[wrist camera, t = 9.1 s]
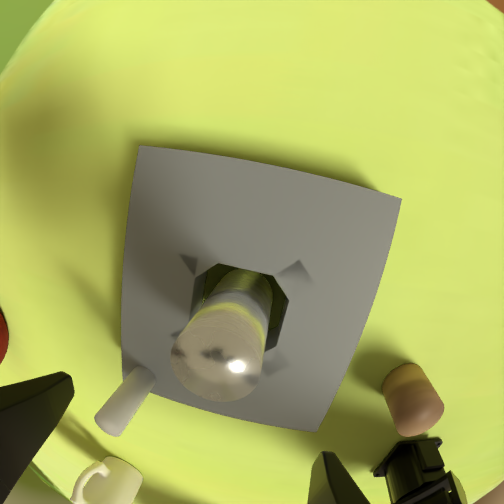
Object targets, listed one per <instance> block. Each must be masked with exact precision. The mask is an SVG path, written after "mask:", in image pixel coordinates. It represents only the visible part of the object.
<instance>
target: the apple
mask: <svg viewBox="0 0 504 504" xmlns="http://www.w3.org/2000/svg"><path fill="white" fill-rule="evenodd" d="M8 340H9V335H8V330H7V326H6V323H5V321H4V318H3V316H2V314H1V313H0V364H1V362H2V361H3V359H4V357H5V354H6V352H7V348H8Z"/></svg>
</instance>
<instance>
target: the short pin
mask: <svg viewBox="0 0 504 504" xmlns="http://www.w3.org/2000/svg"><path fill="white" fill-rule="evenodd" d="M382 392H383V395H384V397H385V400H386V402H387V405H388V408H389V410H390V413H391V416H392V418H393V421H394V424H395V426H396V429H397V432H398V433H399V434H400V435H402V436H406V437H410V436H415V435H419V434H421V433H423V432H425V431H427V430H428V429H430V428H431V427H432V426H434V425H435V424H436V423H437V422H438V420H439V419H440V418H441V416H442V414H443V412H444V404H443V402H442V400H441V399H440V397H439V396H438V394H437V392H436V391H435V389H434V387H433V386H432V384H431V383H430V381H429V379H428V378H427V376H426V375H425V373H424V372H423V370H422V369H421V367H420V366H419V365H417V364H413V363H408V364H404V365H401V366H399V367H397V368H395V369H394V370H392V371H391V372H390V373H389V374H388V375H387V376H386V378H385V379H384V381H383V384H382Z"/></svg>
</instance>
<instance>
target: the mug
mask: <svg viewBox="0 0 504 504" xmlns="http://www.w3.org/2000/svg"><path fill="white" fill-rule="evenodd" d="M90 476H92V477H91V478H90V479H89V481H88V482H87V484H86V485H85V486H84V484H85V482H86V481H87V480H88V478H89V477H90ZM142 481H143V476H142V475H141V473H140V472H139V471H138V470H137V469H136V468H134V467H133V466H132V465H130V464H129V463H127V462H125V461H123V460H121V459H119V458H116V457H111V456H108V457H106V458H105V459H104V460H103V461H102V462H100V461H96V462H95V463H93V464H92V465H90V466H89V467H87V468H86V469H85V470H84V471H83V472H82V473H81V474H80V476H79V477H78V479H77V481H76V483H75V486H74V489H73V493H72V497H71V498H70V500H71V501H73V503H72V504H132V503H133V501H134V499H135V496H136V494H137V492H138V490H139V488H140V486H141V483H142ZM83 487H84V488H83Z"/></svg>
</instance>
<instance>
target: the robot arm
mask: <svg viewBox="0 0 504 504" xmlns="http://www.w3.org/2000/svg"><path fill="white" fill-rule="evenodd" d="M74 392H75V391H74V386H73V381H72V377H71V376H70V375H69V374H67V373H65V372H63V371H60V372H57V373H53V374H49V375H46V376H42V377H38V378H34V379H31V380H27V381H23V382H19V383H15V384H11V385H7V386H2V387H0V504H3V503H4V501H5V500H6V498H7V496H8V495H9V493H10V491H11V490H12V489H13V487H14V485H15V484H16V482H17V481H18V479H19V478H20V477H21V475H22V474H23V472H24V470H25V469H26V468H27V466H28V465H29V463H30V462H31V461H32V459H33V458H34V456H35V455H36V453H37V452H38V451H39V449H40V448H41V446H42V445H43V444H44V442H45V441H46V439H47V438H48V437H49V435H50V434H51V433H52V431H53V430H54V429H55V427H56V426H57V424H58V423H59V421H60V419H61V417H62V416H63V414H64V412H65V410H66V409H67V407H68V405H69V404H70V402H71V400H72V398H73V397H74ZM441 444H442V440H441V439H434V440H421V441H402V442H399V443H397V444H396V446H395V447H394V448H393V450H392V451H391V452H390V453H389V455H388V456H387V457H386V458H385V460H384V461H383V462H382V463H381V464H380V466H379V467H378V468H377V469H376V470H375V471H374V473H373V476H374V477H385V479H386V483H387V488H388V492H389V497H390V501H391V504H467V499H466V494H465V491H464V489H463V487H462V485H461V483H460V481H459V479H458V478H457V477H456V476H455V475H454V474H453V472H452V471H451V470H450V471H449V472H447V473H445V470H444V468H443V467H444V466H445V465H444V462H443V460H442V457H441V455H440V453H439V451H438V448H439V447H440V445H441ZM450 490H451V492H450V493H449V491H450ZM307 504H370V502H369V501H368V500H367V498H366V497H365V496H364V494H363V493H362V491H361V490H360V489H359V487H358V486H357V484H356V483H355V482H354V480H353V479H352V477H351V476H350V475H349V473H348V472H347V470H346V469H345V467H344V466H343V465H342V463H341V462H340V460H339V459H338V457H337V456H336V454H335V453H334V452H328V451H322V452H321V453H320V454H319V456H318V457H317V459H316V460H315V462H314V464H313V466H312V470H311V479H310V487H309V495H308V503H307Z"/></svg>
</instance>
